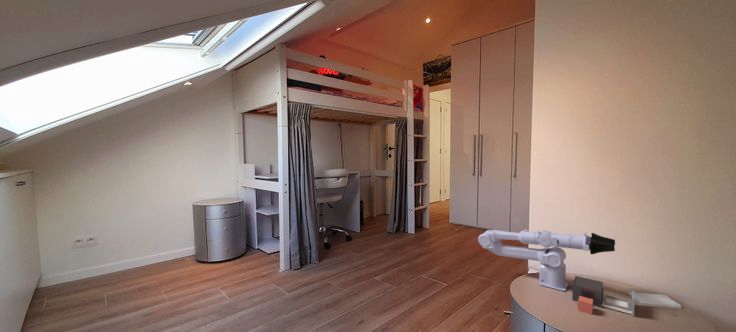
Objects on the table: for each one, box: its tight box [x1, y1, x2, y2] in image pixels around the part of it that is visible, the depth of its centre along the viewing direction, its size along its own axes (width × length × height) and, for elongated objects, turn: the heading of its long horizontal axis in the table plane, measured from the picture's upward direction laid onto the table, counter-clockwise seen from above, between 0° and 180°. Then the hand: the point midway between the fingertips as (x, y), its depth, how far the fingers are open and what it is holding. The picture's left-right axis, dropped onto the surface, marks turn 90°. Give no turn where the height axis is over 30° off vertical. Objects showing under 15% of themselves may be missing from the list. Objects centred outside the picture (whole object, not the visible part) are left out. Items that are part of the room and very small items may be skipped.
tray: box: [601, 288, 636, 316], centre depth 105 cm, size 9×9×6 cm
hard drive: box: [625, 291, 682, 309], centre depth 108 cm, size 2×8×12 cm
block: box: [577, 296, 594, 316], centre depth 103 cm, size 4×4×4 cm
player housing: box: [571, 275, 604, 308], centre depth 111 cm, size 9×9×6 cm
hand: (614, 245), depth 108 cm, fingers open, 7 cm apart
